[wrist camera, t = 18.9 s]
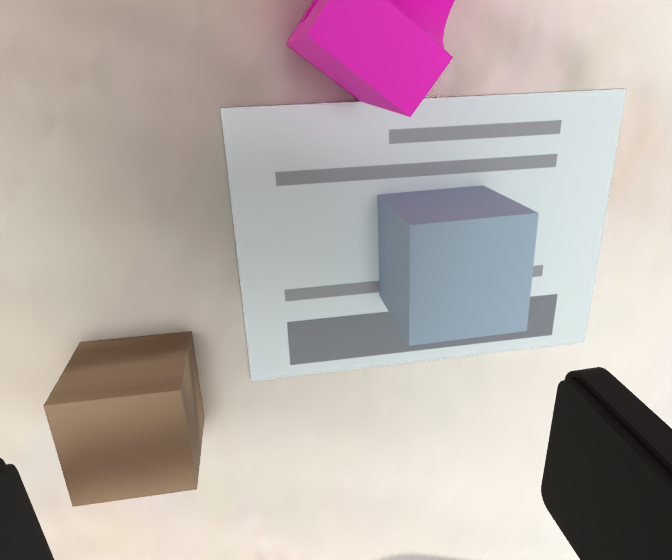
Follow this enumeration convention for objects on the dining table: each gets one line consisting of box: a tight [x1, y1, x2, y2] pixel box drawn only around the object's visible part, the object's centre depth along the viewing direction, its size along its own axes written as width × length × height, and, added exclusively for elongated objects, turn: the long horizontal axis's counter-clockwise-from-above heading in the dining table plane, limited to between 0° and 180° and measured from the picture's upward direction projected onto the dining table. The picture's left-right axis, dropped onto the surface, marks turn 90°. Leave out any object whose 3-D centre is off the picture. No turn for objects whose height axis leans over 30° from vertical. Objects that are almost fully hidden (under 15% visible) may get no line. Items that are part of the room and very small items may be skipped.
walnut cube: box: [44, 331, 204, 506], centre depth 23 cm, size 5×5×5 cm
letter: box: [220, 89, 627, 382], centre depth 25 cm, size 13×18×1 cm
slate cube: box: [378, 185, 539, 346], centre depth 23 cm, size 5×5×5 cm
